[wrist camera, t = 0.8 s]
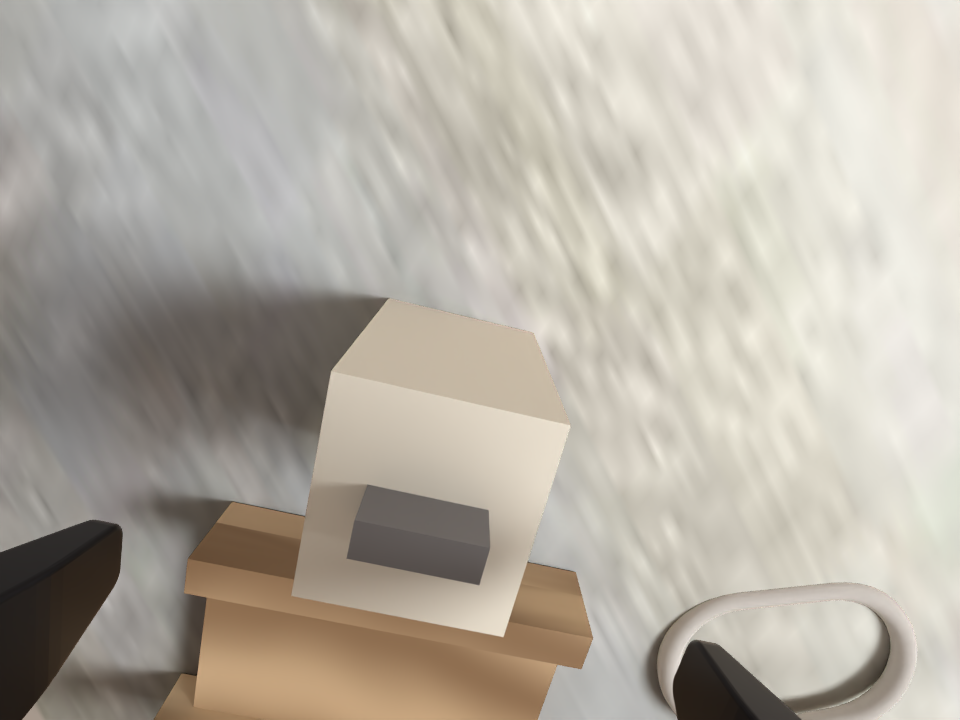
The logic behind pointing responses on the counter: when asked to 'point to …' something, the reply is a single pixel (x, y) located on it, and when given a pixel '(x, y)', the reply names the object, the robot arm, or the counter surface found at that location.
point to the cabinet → (431, 470)
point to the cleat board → (358, 642)
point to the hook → (892, 684)
